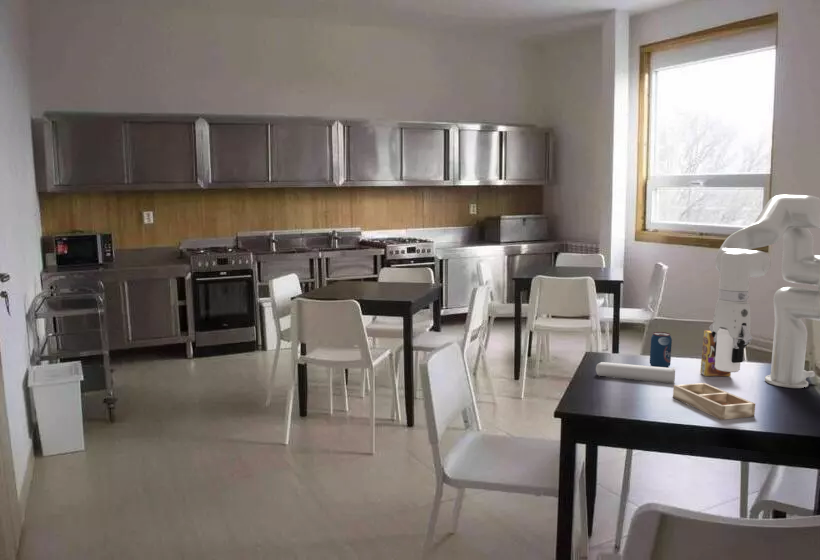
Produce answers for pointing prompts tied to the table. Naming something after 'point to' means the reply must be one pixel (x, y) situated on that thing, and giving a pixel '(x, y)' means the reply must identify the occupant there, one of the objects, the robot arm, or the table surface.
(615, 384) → the table surface
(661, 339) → the soda can
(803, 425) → the table surface
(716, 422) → the table surface
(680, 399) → the slot rack
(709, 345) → the candy box
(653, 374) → the tube
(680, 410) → the table surface
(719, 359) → the can
